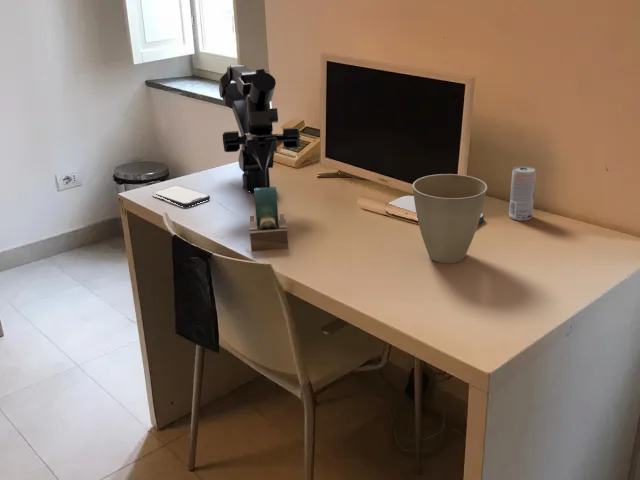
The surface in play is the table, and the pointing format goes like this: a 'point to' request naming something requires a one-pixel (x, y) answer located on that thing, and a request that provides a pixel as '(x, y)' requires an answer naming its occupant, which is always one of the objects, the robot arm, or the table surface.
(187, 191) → the phone case
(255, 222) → the walnut track with socket
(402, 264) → the table surface
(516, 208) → the energy drink
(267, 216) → the teal upright block
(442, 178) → the plant pot
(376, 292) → the table surface
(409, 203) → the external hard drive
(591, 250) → the table surface
